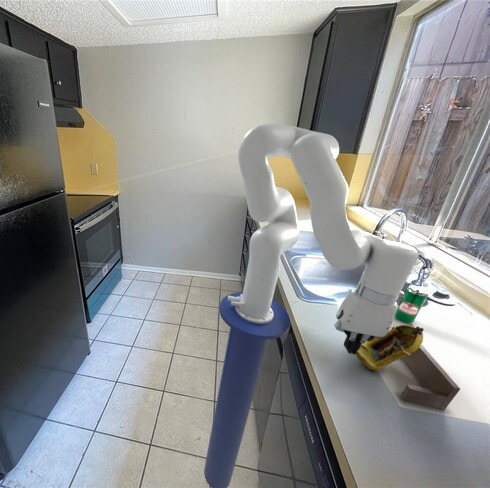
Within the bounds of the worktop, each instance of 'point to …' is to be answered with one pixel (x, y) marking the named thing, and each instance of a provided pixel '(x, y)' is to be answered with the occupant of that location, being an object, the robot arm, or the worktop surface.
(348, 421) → the worktop surface
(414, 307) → the soda can
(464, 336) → the worktop surface
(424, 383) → the shoe rack
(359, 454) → the worktop surface
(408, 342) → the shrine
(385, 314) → the robot arm
